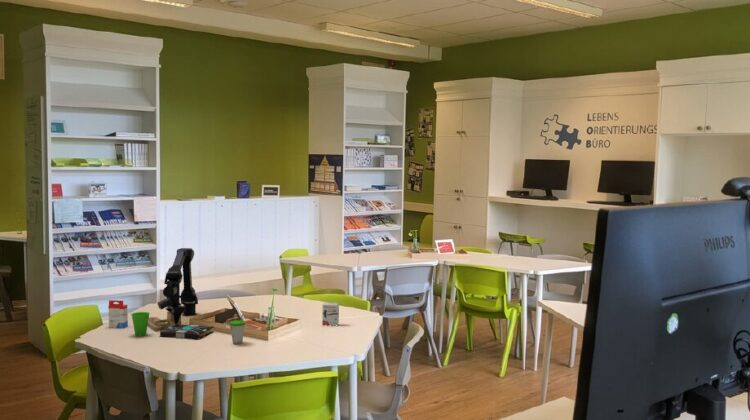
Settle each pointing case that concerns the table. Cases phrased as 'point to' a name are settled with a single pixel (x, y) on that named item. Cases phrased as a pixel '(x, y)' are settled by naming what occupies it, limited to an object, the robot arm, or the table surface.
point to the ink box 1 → (118, 314)
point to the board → (157, 326)
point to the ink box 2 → (330, 314)
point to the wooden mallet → (169, 320)
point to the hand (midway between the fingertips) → (174, 322)
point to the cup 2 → (237, 330)
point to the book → (187, 331)
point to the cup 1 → (140, 322)
